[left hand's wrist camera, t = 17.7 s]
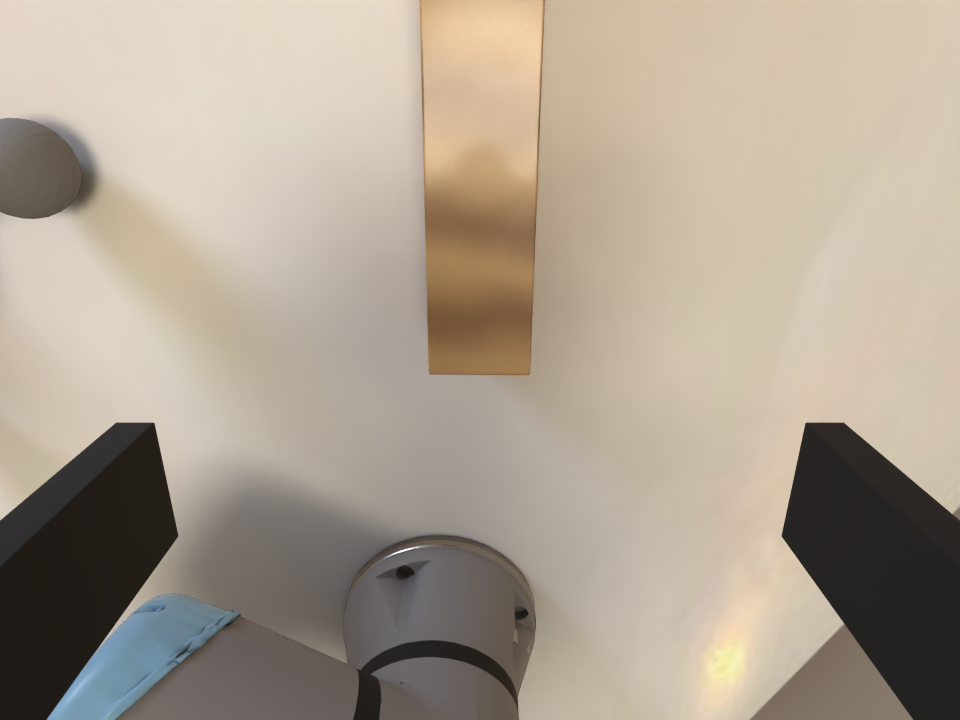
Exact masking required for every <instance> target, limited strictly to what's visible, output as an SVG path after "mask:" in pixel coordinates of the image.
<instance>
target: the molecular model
mask: <svg viewBox="0 0 960 720" xmlns="http://www.w3.org/2000/svg"><path fill="white" fill-rule="evenodd" d="M80 184H81V170H80V165H79V162H78V159H77V157H76V155H75V153H74V152H73V150H72V149H71V147H70V146H69V145H68V144H67V142H66V141H65V140H64V139H63V138H61V137H60V136H59V135H58V134H57V133H55V132H54V131H52V130H51V129H49V128H47V127H45V126H43V125H41V124H39V123H36V122H34V121H30V120H25V119H19V118H5V119H0V212H2V213H5V214H7V215H11V216H15V217H19V218H26V219H37V218H44V217H49V216H51V215H54V214H56V213H59V212H61V211H62V210H64V209H65V208H67V207H68V206H69V205H70V204H71V203H72V201H73V200H74V199H75V198H76V196H77V194H78V192H79V188H80Z"/></svg>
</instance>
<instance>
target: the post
mask: <svg viewBox="0 0 960 720" xmlns="http://www.w3.org/2000/svg"><path fill="white" fill-rule="evenodd" d="M544 6H545V0H420V31H421V72H422V114H423V155H424V196H425V238H426V279H427V320H428V362H429V374H456V375H529V374H530V360H531V335H532V309H533V284H534V259H535V234H536V208H537V183H538V158H539V132H540V107H541V82H542V56H543V31H544Z"/></svg>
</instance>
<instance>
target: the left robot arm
mask: <svg viewBox="0 0 960 720" xmlns="http://www.w3.org/2000/svg"><path fill="white" fill-rule="evenodd" d="M177 537H178V532H177V527H176V523H175V518H174V513H173V509H172V504H171V499H170V494H169V490H168V485H167V480H166V476H165V471H164V466H163V461H162V457H161V452H160V447H159V443H158V438H157V433H156V428H155V424H154V423H115V424H114V425H113V426H112V427H111V428H109V429H108V430H107V431H106V432H105V433H104V434H102V435H101V436H100V437H99V438H98V439H96V440H95V441H94V442H93V443H92V444H91V445H89V446H88V447H87V448H86V449H85V450H83V451H82V452H81V453H80V454H79V455H77V456H76V457H75V458H74V459H73V460H72V461H70V462H69V463H68V464H67V465H66V466H64V467H63V468H62V469H61V470H60V471H59V472H57V473H56V474H55V475H54V476H53V477H51V478H50V479H49V480H48V481H47V482H45V483H44V484H43V485H42V486H41V487H40V488H38V489H37V490H36V491H35V492H34V493H32V494H31V495H30V496H29V497H28V498H27V499H25V500H24V501H23V502H22V503H21V504H19V505H18V506H17V507H16V508H15V509H13V510H12V511H11V512H10V513H9V514H8V515H6V516H5V517H4V518H3V519H2V520H0V720H519V713H518V694H519V690H520V687H521V684H522V681H523V678H524V674H525V671H526V668H527V665H528V661H529V658H530V655H531V652H532V648H533V644H534V639H535V629H536V618H535V609H534V601H533V597H532V593H531V590H530V588H529V586H528V584H527V582H526V580H525V578H524V577H523V575H522V574H521V573H520V571H519V570H518V569H517V568H516V567H515V566H514V565H513V564H512V563H511V562H510V561H509V560H508V559H506V558H505V557H504V556H502V555H501V554H499V553H498V552H496V551H494V550H493V549H491V548H489V547H487V546H484V545H482V544H479V543H476V542H473V541H470V540H466V539H462V538H455V537H445V536H431V537H421V538H416V539H411V540H407V541H404V542H401V543H398V544H396V545H393V546H391V547H389V548H387V549H385V550H384V551H382V552H380V553H379V554H377V555H376V556H375V557H373V558H372V559H371V560H370V561H369V562H368V563H367V564H366V565H365V566H364V567H363V568H362V569H361V570H360V572H359V573H358V575H357V576H356V578H355V580H354V581H353V583H352V586H351V588H350V591H349V595H348V598H347V602H346V606H345V611H344V623H343V633H344V641H345V648H346V655H347V661H348V664H346V663H344V662H341V661H339V660H337V659H334V658H332V657H330V656H328V655H325V654H323V653H321V652H319V651H316V650H314V649H312V648H310V647H307V646H305V645H303V644H301V643H299V642H296V641H294V640H292V639H290V638H287V637H285V636H283V635H281V634H278V633H276V632H274V631H272V630H269V629H267V628H265V627H263V626H260V625H258V624H256V623H254V622H251V621H249V620H247V619H245V618H242V617H240V616H241V614H242V613H240V612H239V611H237V610H232V611H226V610H223V609H221V608H218V607H215V606H212V605H210V604H207V603H205V602H202V601H199V600H197V599H194V598H191V597H189V596H186V595H182V594H176V593H171V594H164V595H160V596H157V597H155V598H153V599H151V600H149V601H147V602H146V603H144V604H143V605H141V606H140V607H139V608H138V609H136V610H135V611H134V612H133V613H132V614H131V615H130V616H129V617H128V618H127V619H126V620H125V621H124V622H123V623H122V624H121V625H120V626H119V627H118V628H117V629H116V630H115V631H114V632H113V633H112V634H111V636H110V637H109V638H108V639H107V640H106V641H105V642H104V643H103V644H102V645H101V643H102V642H103V640H104V639H105V638H106V636H107V635H108V633H109V632H110V631H111V629H112V628H113V627H114V625H115V624H116V622H117V621H118V620H119V618H120V617H121V615H122V614H123V613H124V611H125V610H126V608H127V607H128V606H129V604H130V603H131V601H132V600H133V599H134V597H135V596H136V594H137V593H138V592H139V590H140V589H141V587H142V586H143V585H144V583H145V582H146V581H147V579H148V578H149V576H150V575H151V574H152V572H153V571H154V569H155V568H156V567H157V565H158V564H159V562H160V561H161V560H162V558H163V557H164V555H165V554H166V553H167V551H168V550H169V548H170V547H171V546H172V544H173V543H174V542H175V540H176V539H177ZM782 537H783V539H784V540H785V542H786V543H787V544H788V546H789V547H790V548H791V550H792V551H793V553H794V554H795V555H796V557H797V558H798V560H799V561H800V562H801V564H802V565H803V567H804V568H805V569H806V571H807V572H808V574H809V575H810V576H811V578H812V579H813V581H814V582H815V583H816V585H817V586H818V587H819V589H820V590H821V592H822V593H823V594H824V596H825V597H826V599H827V600H828V601H829V603H830V604H831V606H832V607H833V608H834V610H835V611H836V613H837V614H838V615H839V617H840V618H841V620H842V621H843V622H844V624H845V625H846V627H847V628H848V629H849V631H850V632H851V633H852V635H853V636H854V638H855V639H856V640H857V642H858V643H859V645H860V646H861V647H862V649H863V650H864V652H865V653H866V654H867V656H868V657H869V659H870V660H871V661H872V663H873V664H874V665H875V667H876V668H877V670H878V671H879V672H880V674H881V675H882V677H883V678H884V679H885V681H886V682H887V684H888V685H889V686H890V688H891V689H892V691H893V692H894V693H895V695H896V696H897V698H898V699H899V700H900V702H901V703H902V704H903V706H904V707H905V709H906V710H907V712H908V713H909V714H910V716H911V717H912V718H913V720H960V520H958V519H957V518H956V517H955V516H954V515H952V514H951V513H950V512H949V511H948V510H947V509H945V508H944V507H943V506H942V505H941V504H939V503H938V502H937V501H936V500H935V499H933V498H932V497H931V496H930V495H929V494H928V493H926V492H925V491H924V490H923V489H922V488H920V487H919V486H918V485H917V484H916V483H915V482H913V481H912V480H911V479H910V478H909V477H907V476H906V475H905V474H904V473H903V472H901V471H900V470H899V469H898V468H897V467H896V466H894V465H893V464H892V463H891V462H890V461H888V460H887V459H886V458H885V457H884V456H883V455H881V454H880V453H879V452H878V451H877V450H875V449H874V448H873V447H872V446H871V445H869V444H868V443H867V442H866V441H865V440H864V439H862V438H861V437H860V436H859V435H858V434H856V433H855V432H854V431H853V430H852V429H851V428H849V427H848V426H847V425H846V424H845V423H806V424H805V428H804V433H803V438H802V443H801V447H800V452H799V457H798V461H797V466H796V471H795V476H794V480H793V485H792V490H791V494H790V499H789V504H788V509H787V513H786V518H785V523H784V527H783V532H782ZM100 645H101V647H100V648H99V649H98V647H99V646H100ZM97 649H98V650H97ZM96 650H97V651H96ZM94 653H95V654H94ZM93 654H94V655H93Z"/></svg>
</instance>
